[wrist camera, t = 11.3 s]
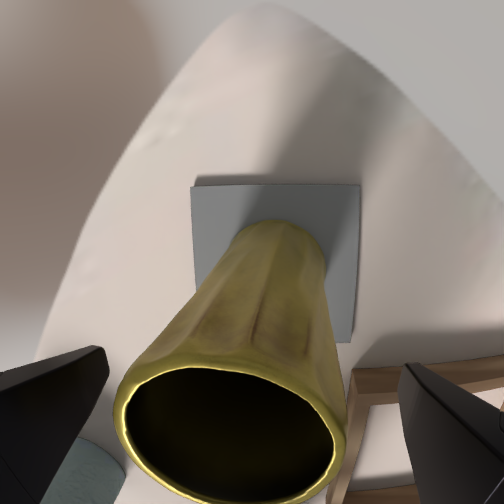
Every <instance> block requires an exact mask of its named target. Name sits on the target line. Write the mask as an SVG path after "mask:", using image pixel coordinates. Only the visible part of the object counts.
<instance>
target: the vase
mask: <svg viewBox="0 0 504 504" xmlns="http://www.w3.org/2000/svg"><path fill="white" fill-rule="evenodd" d="M325 277H326V264H325V258H324V254H323V252H322V250H321V248H320V246H319V244H318V243H317V241H316V240H315V239H314V237H313V236H312V235H311V234H310V233H309V232H307V231H306V230H304V229H303V228H301V227H299V226H297V225H295V224H293V223H290V222H288V221H284V220H264V221H260V222H257V223H255V224H252V225H250V226H248V227H246V228H245V229H243V230H242V231H241V232H239V233H238V235H237V236H236V237H235V238H234V239H233V241H232V243H231V244H230V246H229V248H228V249H227V250H226V252H225V253H224V254H223V256H222V257H221V258H220V260H219V261H218V263H217V264H216V266H215V267H214V268H213V269H212V271H211V272H210V273H209V274H208V276H207V277H206V278H205V280H204V281H203V283H202V284H201V286H200V287H199V289H198V290H197V291H196V293H195V294H194V296H193V297H192V298H191V299H190V300H189V301H188V302H187V303H186V305H185V306H184V307H183V308H182V309H181V310H180V311H179V312H178V314H177V315H176V316H175V317H174V318H173V319H172V321H171V322H170V323H169V324H168V326H167V327H166V328H165V329H164V330H163V331H162V333H161V334H160V335H159V336H158V337H157V338H156V339H155V340H154V342H153V343H152V344H151V345H150V346H149V347H148V348H147V349H146V350H145V351H144V352H143V353H142V354H141V355H140V356H139V357H138V358H137V359H136V360H135V362H134V363H133V364H132V365H131V366H130V368H129V369H128V371H127V372H126V374H125V375H124V378H123V380H122V381H121V383H120V385H119V387H118V390H117V394H116V397H115V401H114V407H113V419H114V425H115V429H116V433H117V435H118V438H119V440H120V442H121V444H122V446H123V447H124V449H125V451H126V452H127V454H128V455H129V457H130V458H131V459H132V461H133V462H134V463H135V464H136V465H137V466H138V467H139V468H140V469H141V470H143V471H144V472H145V473H146V474H147V475H149V476H150V477H151V478H152V479H154V480H155V481H157V482H158V483H159V484H161V485H162V486H164V487H165V488H167V489H168V490H170V491H172V492H174V493H176V494H177V495H180V496H182V497H185V498H187V499H190V500H192V501H195V502H197V503H200V504H299V503H302V502H304V501H306V500H308V499H310V498H311V497H313V496H315V495H316V494H317V493H319V492H320V491H321V490H322V489H323V488H324V487H325V486H326V485H327V484H328V483H330V482H331V481H332V479H333V478H334V477H335V476H336V475H337V473H338V472H339V470H340V469H341V467H342V464H343V460H344V457H345V453H346V447H347V439H348V414H347V407H346V400H345V393H344V387H343V381H342V375H341V371H340V366H339V361H338V355H337V350H336V345H335V339H334V334H333V329H332V326H331V321H330V316H329V310H328V303H327V298H326V294H325V289H324V281H325Z"/></svg>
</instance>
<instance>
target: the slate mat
mask: <svg viewBox="0 0 504 504" xmlns="http://www.w3.org/2000/svg"><path fill="white" fill-rule="evenodd" d="M190 194H191V217H192V236H193V252H194V267H195V281H196V291H197V290H198V289H199V287H200V286H201V284H202V283H203V281H204V280H205V278H206V277H207V276H208V274H209V273H210V272H211V271H212V269H213V268H214V267H215V266H216V264H217V263H218V261H219V260H220V258H221V257H222V256H223V254H224V253H225V252H226V250H227V249H228V248H229V246H230V244H231V243H232V241H233V239H234V238H235V237H236V236H237V235H238V233H239V232H241V231H242V230H243V229H245V228H246V227H248V226H250V225H252V224H255V223H257V222H260V221H264V220H284V221H288V222H290V223H293V224H295V225H297V226H299V227H301V228H303V229H304V230H306V231H307V232H309V233H310V234H311V235H312V236H313V237H314V239H315V240H316V241H317V243H318V244H319V246H320V248H321V250H322V252H323V254H324V258H325V264H326V277H325V281H324V289H325V294H326V298H327V303H328V310H329V316H330V321H331V326H332V329H333V334H334V339H335V343H350V341H351V332H352V323H353V313H354V302H355V290H356V276H357V260H358V239H359V204H360V185H330V184H258V185H219V186H195V187H190Z"/></svg>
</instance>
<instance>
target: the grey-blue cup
mask: <svg viewBox="0 0 504 504" xmlns="http://www.w3.org/2000/svg"><path fill="white" fill-rule="evenodd" d="M124 481H125V475H124V472H123V469H122V468H121V466H120V465H119V463H118V462H117V461H116V460H115V459H114V458H113V457H112V456H111V455H109V454H108V453H107V452H106V451H104V450H103V449H102V448H100V447H99V446H97V445H95V444H94V443H92V442H90V441H88V440H85V439H83V438H79V437H77V438H76V440H75V442H74V443H73V445H72V447H71V448H70V450H69V452H68V454H67V455H66V457H65V459H64V461H63V463H62V464H61V466H60V468H59V470H58V471H57V473H56V475H55V477H54V479H53V481H52V482H51V484H50V486H49V488H48V490H47V492H46V493H45V495H44V497H43V499H42V501H41V503H40V504H114V501H115V500H116V498H117V496H118V494H119V492H120V490H121V488H122V486H123V484H124Z"/></svg>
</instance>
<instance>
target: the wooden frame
mask: <svg viewBox="0 0 504 504" xmlns="http://www.w3.org/2000/svg"><path fill="white" fill-rule="evenodd" d="M423 366H425V367H427V368H428V369H430V370H432V371H433V372H435V373H437V374H439V375H440V376H442V377H444V378H446V379H447V380H449V381H451V382H452V383H454V384H456V385H458V386H459V387H461V388H463V389H465V390H466V391H468V392H470V393H476V392H482V391H487V390H491V389H496V388H501V387H504V355H499V356H493V357H487V358H480V359H473V360H465V361H457V362H449V363H439V364H429V365H423ZM402 368H403V367H389V368H368V369H352V374H351V380H350V387H349V393H348V399H347V404H346V407H347V414H348V439H347V447H346V453H345V457H344V460H343V464H342V467H341V469H340V470H339V472H338V473H337V475H336V476H335V477H334V478H333V479H332V481H331V482H330V483H329V487H328V491H327V494H326V504H420V500H419V495H418V491H417V486H416V484H413V485H407V486H401V487H393V488H386V489H377V490H367V491H354V492H346V490H347V487H348V484H349V481H350V478H351V475H352V472H353V469H354V465H355V462H356V459H357V455H358V452H359V448H360V445H361V441H362V437H363V433H364V430H365V426H366V422H367V418H368V413H369V409H370V405H381V404H394V403H399V400H398V392H397V391H398V384H399V380H400V376H401V372H402ZM500 411H503V412H504V402H503V405H502V407H501V409H500Z"/></svg>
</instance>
